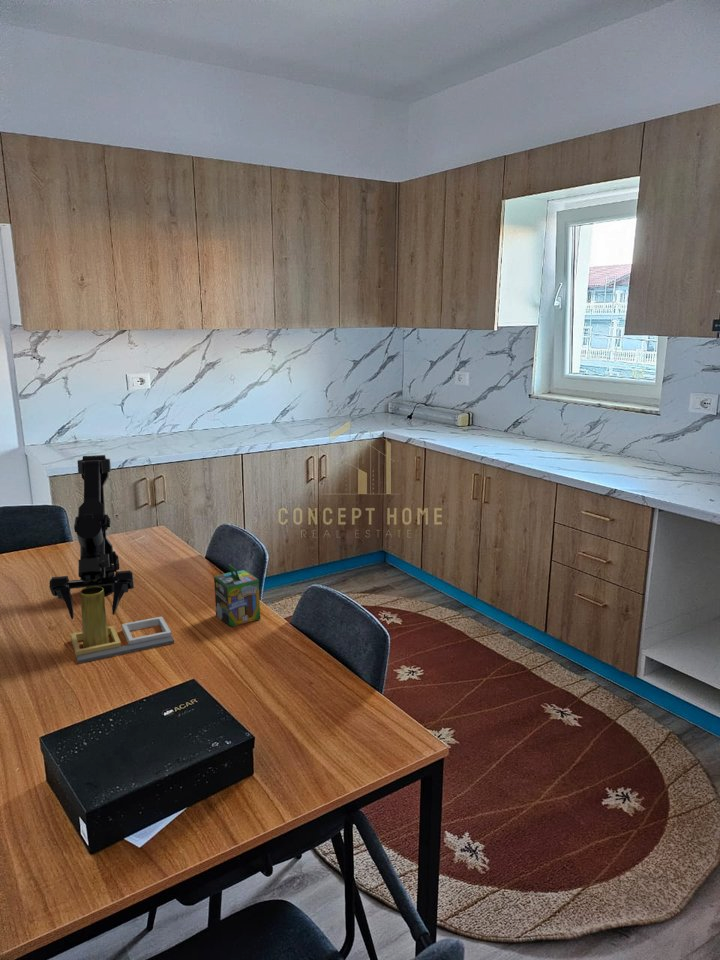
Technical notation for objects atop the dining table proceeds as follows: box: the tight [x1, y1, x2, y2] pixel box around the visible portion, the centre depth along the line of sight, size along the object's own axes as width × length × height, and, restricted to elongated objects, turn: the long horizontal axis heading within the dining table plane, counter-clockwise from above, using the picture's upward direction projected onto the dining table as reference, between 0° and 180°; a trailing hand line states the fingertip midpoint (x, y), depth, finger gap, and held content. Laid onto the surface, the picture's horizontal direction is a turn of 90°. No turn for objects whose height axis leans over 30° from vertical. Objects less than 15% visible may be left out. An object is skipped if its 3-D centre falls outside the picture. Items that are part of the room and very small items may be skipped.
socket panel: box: [70, 616, 175, 664], centre depth 167 cm, size 22×12×2 cm, turn 118°
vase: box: [79, 586, 111, 648], centre depth 164 cm, size 6×6×14 cm
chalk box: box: [213, 563, 261, 628], centre depth 180 cm, size 9×9×15 cm
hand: (93, 616), depth 162 cm, fingers open, 9 cm apart
